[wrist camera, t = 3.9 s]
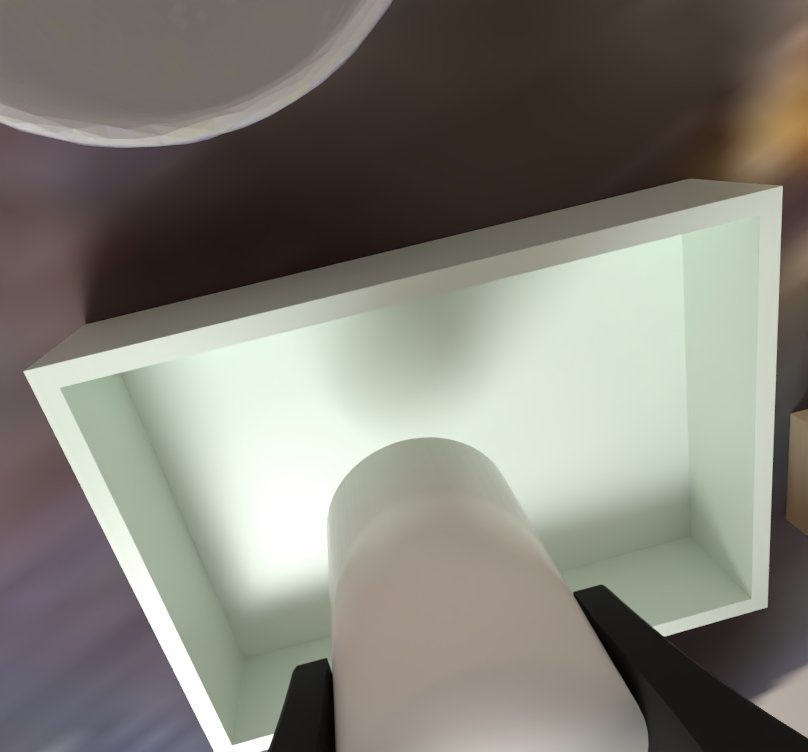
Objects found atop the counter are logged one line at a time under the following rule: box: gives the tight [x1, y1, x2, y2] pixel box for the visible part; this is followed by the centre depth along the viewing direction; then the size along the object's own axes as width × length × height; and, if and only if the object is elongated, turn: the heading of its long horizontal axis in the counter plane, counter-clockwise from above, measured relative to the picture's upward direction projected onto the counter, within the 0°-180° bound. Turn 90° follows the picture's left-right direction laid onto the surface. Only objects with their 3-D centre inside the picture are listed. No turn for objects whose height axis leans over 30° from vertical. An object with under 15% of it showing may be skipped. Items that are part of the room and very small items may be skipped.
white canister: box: [327, 437, 649, 752], centre depth 12 cm, size 5×5×7 cm
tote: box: [23, 179, 783, 752], centre depth 19 cm, size 14×19×4 cm
